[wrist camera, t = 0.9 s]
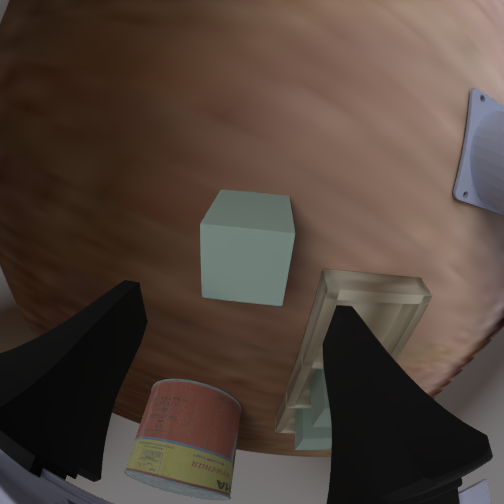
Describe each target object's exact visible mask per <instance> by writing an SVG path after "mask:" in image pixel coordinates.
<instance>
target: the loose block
mask: <svg viewBox="0 0 504 504" xmlns="http://www.w3.org/2000/svg"><path fill="white" fill-rule="evenodd" d="M294 238H295V228H294V222H293V216H292V210H291V203H290V197H289V196H283V195H274V194H265V193H255V192H244V191H233V190H221V191H220V192H219V194H218V195H217V197H216V199H215V200H214V202H213V204H212V205H211V207H210V209H209V210H208V212H207V213H206V215H205V217H204V219H203V220H202V222H201V224H200V239H201V281H202V297H205V298H213V299H221V300H229V301H237V302H246V303H255V304H265V305H275V306H282V304H283V299H284V294H285V288H286V283H287V278H288V272H289V267H290V261H291V255H292V250H293V244H294Z"/></svg>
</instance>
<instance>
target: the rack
mask: <svg viewBox="0 0 504 504" xmlns="http://www.w3.org/2000/svg"><path fill="white" fill-rule="evenodd" d="M431 298H432V294H431V293H430V291H429V290H428V288H427V287H426V285H425V284H424V282H423V281H422V279H421V278H414V277H404V276H393V275H382V274H372V273H362V272H351V271H341V270H331V269H323V270H322V274H321V278H320V282H319V286H318V289H317V293H316V297H315V300H314V304H313V307H312V311H311V314H310V318H309V321H308V324H307V328H306V331H305V334H304V337H303V341H302V344H301V347H300V350H299V353H298V356H297V359H296V362H295V365H294V368H293V371H292V374H291V377H290V380H289V383H288V385H287V388H286V391H285V394H284V396H283V399H282V402H281V405H280V407H279V410H278V413H277V415H276V418H275V432H276V433H295V413H296V411H297V409H298V408H310V409H311V397H310V382H311V379H312V377H313V375H314V373H315V370H316V369H324V368H323V340H324V338H325V335H326V332H327V330H328V327H329V324H330V322H331V319H332V316H333V313H334V310H335V308H336V305H344V306H352V307H353V308H354V309H355V310H356V312H357V313H358V314H359V315H360V317H361V318H362V319H363V321H364V322H365V323H366V325H367V326H368V327H369V329H370V330H371V331H372V333H373V334H374V335H375V337H376V338H377V339H378V340H379V342H380V343H381V344H382V346H383V347H384V348H385V349H386V351H387V352H388V353H389V354H390V355H391V357H392V358H393V359H394V360H395V359H396V358H397V356H398V355H399V353H400V352H401V350H402V349H403V347H404V346H405V344H406V342H407V341H408V339H409V337H410V336H411V334H412V332H413V331H414V329H415V327H416V326H417V324H418V322H419V320H420V319H421V317H422V315H423V313H424V311H425V309H426V307H427V306H428V304H429V302H430V300H431Z"/></svg>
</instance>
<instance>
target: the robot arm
mask: <svg viewBox="0 0 504 504" xmlns="http://www.w3.org/2000/svg"><path fill="white" fill-rule="evenodd" d="M480 96H481V98H482V100H480ZM464 192H465V195H464V196H463V194H464ZM453 195H454V197H455V198H456V199H458V200H460V201H463V202H466V203H469V204H472V205H475V206H478V207H481V208H484V209H487V210H490V211H493V212H495V213H498V214H501V215H503V216H504V106H503V105H501V104H500V103H498V102H497V101H495V100H494V99H492V98H491V97H489V96H488V95H486V94H485V93H483V92H482V91H480V90H478V89H474V88H473V89H471V90H470V98H469V109H468V118H467V125H466V132H465V139H464V145H463V150H462V155H461V160H460V165H459V169H458V174H457V178H456V182H455V186H454V190H453ZM147 322H148V321H147V317H146V313H145V308H144V304H143V299H142V294H141V289H140V284H139V282H133V281H127V280H125V281H123V282H122V283H120V284H118V285H117V286H115V287H114V288H113V289H111V290H110V291H108V292H107V293H105V294H104V295H103V296H101V297H100V298H98V299H97V300H96V301H94V302H93V303H91V304H90V305H89V306H87V307H86V308H84V309H83V310H82V311H80V312H78V313H77V314H75V315H74V316H72V317H71V318H69V319H68V320H66V321H65V322H64V323H62V324H60V325H59V326H57V327H56V328H54V329H52V330H50V331H49V332H47V333H45V334H43V335H41V336H40V337H38V338H36V339H34V340H31V341H29V342H27V343H25V344H23V345H21V346H18V347H16V348H14V349H11V350H8V351H6V352H3V353H0V504H113V503H111V502H108V501H106V500H104V499H101V498H99V497H97V496H95V495H93V494H91V493H88V492H86V491H84V490H82V489H80V488H78V487H77V486H74V485H73V484H71V483H69V482H67V481H65V479H66V476H67V475H68V476H70V477H72V478H74V479H76V477H77V474H79V475H80V476H83V477H85V478H87V479H89V480H91V481H93V482H95V481H98V480H100V479H101V470H102V460H103V452H104V446H105V440H106V435H107V430H108V426H109V421H110V417H111V414H112V410H113V407H114V403H115V400H116V397H117V394H118V392H119V389H120V387H121V385H122V382H123V380H124V378H125V376H126V374H127V372H128V369H129V367H130V365H131V363H132V361H133V359H134V357H135V355H136V352H137V350H138V348H139V346H140V344H141V341H142V338H143V335H144V332H145V329H146V325H147ZM323 368H324V375H325V381H326V388H327V394H328V401H329V408H330V415H331V425H332V454H331V472H330V483H329V492H328V499H327V504H491V503H490V496H489V490H488V484H487V479H483V480H481V481H479V482H477V483H475V484H473V485H471V486H470V487H468V488H466V489H464V490H462V491H460V492H458V487H460V486H461V485H462V479H461V477H463V476H465V475H467V474H468V473H470V472H472V471H474V470H476V469H477V468H479V467H480V466H482V465H483V464H485V463H487V462H488V461H490V460H491V459H492V457H493V455H492V451H491V448H490V444H489V440H488V437H487V435H485V434H483V433H482V432H480V431H478V430H476V429H474V428H473V427H471V426H469V425H467V424H466V423H464V422H463V421H461V420H460V419H458V418H457V417H455V416H454V415H453V414H451V413H450V412H448V411H447V410H446V409H444V408H443V407H442V406H441V405H440V404H438V403H437V402H436V401H435V400H434V399H432V398H431V397H430V396H429V395H428V394H427V393H426V392H424V391H423V390H422V389H421V388H420V387H419V386H418V385H417V384H416V383H415V382H414V381H413V380H412V379H411V378H410V377H409V376H408V375H407V374H406V373H405V371H404V370H403V369H402V368H401V367H400V366H399V365H398V364H397V362H396V361H395V360H394V359H393V358H392V357H391V355H390V354H389V353H388V352H387V351H386V349H385V348H384V347H383V346H382V344H381V343H380V342H379V340H378V339H377V338H376V337H375V335H374V334H373V333H372V331H371V330H370V329H369V327H368V326H367V325H366V323H365V322H364V321H363V319H362V318H361V317H360V315H359V314H358V313H357V312H356V310H355V309H354V308H353V307H352V306H344V305H336V308H335V310H334V313H333V316H332V319H331V322H330V324H329V327H328V330H327V332H326V335H325V338H324V340H323Z"/></svg>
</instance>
